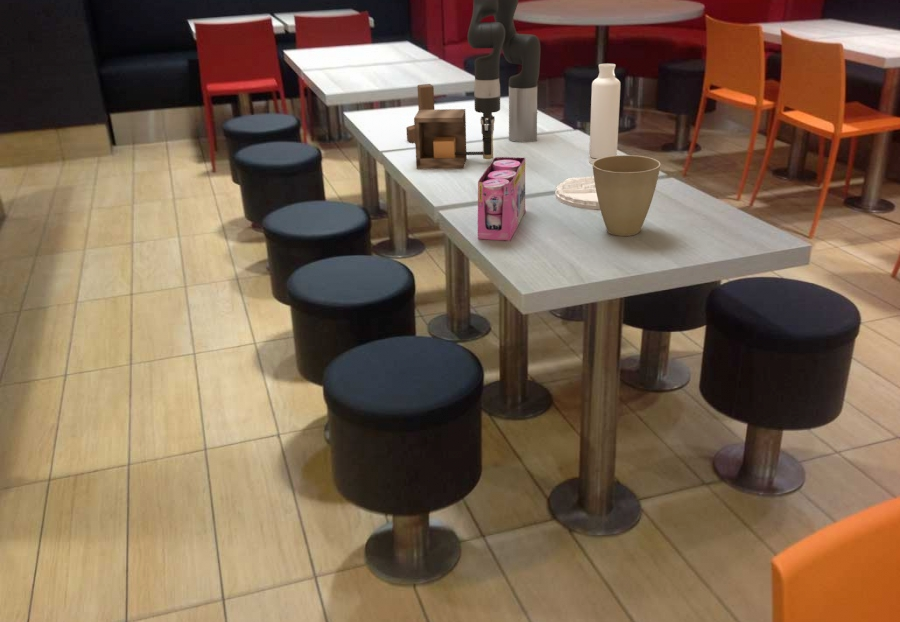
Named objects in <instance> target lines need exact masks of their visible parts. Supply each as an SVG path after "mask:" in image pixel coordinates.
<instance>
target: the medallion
mask: <svg viewBox="0 0 900 622" xmlns="http://www.w3.org/2000/svg"><path fill="white" fill-rule="evenodd" d="M554 196H555V199H556V200H557V201H558V202H560V203H562V204H564V205H566V206H570V207H573V208H578V209H584V210H594V211H595V210H597V211H598V210H600V206H599V202H598V198H597V193H596V188H595V182H594V175H592V176H585V177H584V176H581V177H569V178H566V179H565V180H564V181H563V182H561V183H558V185H557V186H556V187H555V192H554ZM600 211H601V210H600Z"/></svg>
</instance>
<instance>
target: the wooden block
mask: <svg viewBox="0 0 900 622" xmlns="http://www.w3.org/2000/svg"><path fill="white" fill-rule="evenodd" d="M416 87H417V101H418V102H417V105H418V111H419V110H435V90H434V89H435V88H434V85H432V84H431V83H425V84H424V83H423V84H417V86H416ZM405 128H406V130H405V131H406V140H407V141H408V142H409V143H410V144H411V143H415V127H414V124H413V125H410V126H409V125H408V126H407V127H405Z"/></svg>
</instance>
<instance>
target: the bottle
mask: <svg viewBox="0 0 900 622" xmlns="http://www.w3.org/2000/svg"><path fill="white" fill-rule="evenodd" d="M615 69H616V64H615V63H599V64H598V72H599V73H598V74H597V75H598V76H597V77H596V78H595V79H594V80H592V82H591V100H590V104H591V105H590V128H589V129H590V131H589V153H588V155H589V157H588V163H589V164H591V165H592V163H593V162H594V161H595V160H597V159H600V158H603V157H608V156H617V154H618V139H619V122H620V120H619V119H620V100H621V81H620V80H619V79H618V78H617V77H616V74H615Z"/></svg>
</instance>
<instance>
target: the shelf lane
mask: <svg viewBox="0 0 900 622" xmlns="http://www.w3.org/2000/svg"><path fill="white" fill-rule="evenodd" d="M466 118H467V117H466V109H465V108H464V109H463V108H458V109H457V108H453V109H452V108H450V109H446V108H445V109H443V108H442V109H434V110H419V109H418V111H417V112H416V114H415V116H414V118H413V125H414V127H415V142H414V143H415V161H416V162H415V164H416V166H415V167H416V169H417V170H436V169H437V170H443V169H445V170H446V169H447V170H451V169H452V170H454V169H455V170H456V169H458V170H459V169H460V170H461V169H465V165H466V163H467V156H468V155H456V157H455V158H434V146H433V141H434V139H435V137H455V145H456V152H467V125H466V124H467V122H466V121H467V120H466Z"/></svg>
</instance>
